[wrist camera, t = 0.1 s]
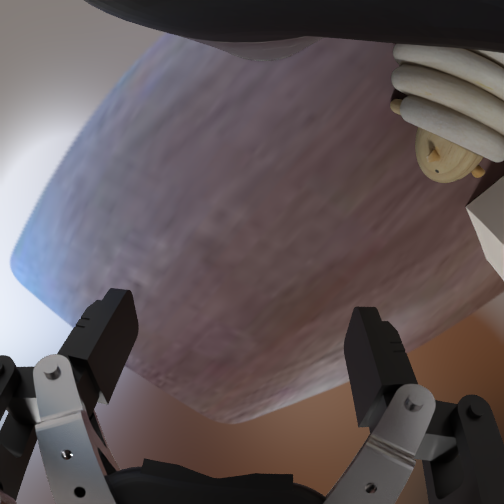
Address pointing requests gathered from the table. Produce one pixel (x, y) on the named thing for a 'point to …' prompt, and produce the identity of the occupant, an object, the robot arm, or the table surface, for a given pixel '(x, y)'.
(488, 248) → the pedestal
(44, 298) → the table surface
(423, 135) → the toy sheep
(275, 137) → the table surface
